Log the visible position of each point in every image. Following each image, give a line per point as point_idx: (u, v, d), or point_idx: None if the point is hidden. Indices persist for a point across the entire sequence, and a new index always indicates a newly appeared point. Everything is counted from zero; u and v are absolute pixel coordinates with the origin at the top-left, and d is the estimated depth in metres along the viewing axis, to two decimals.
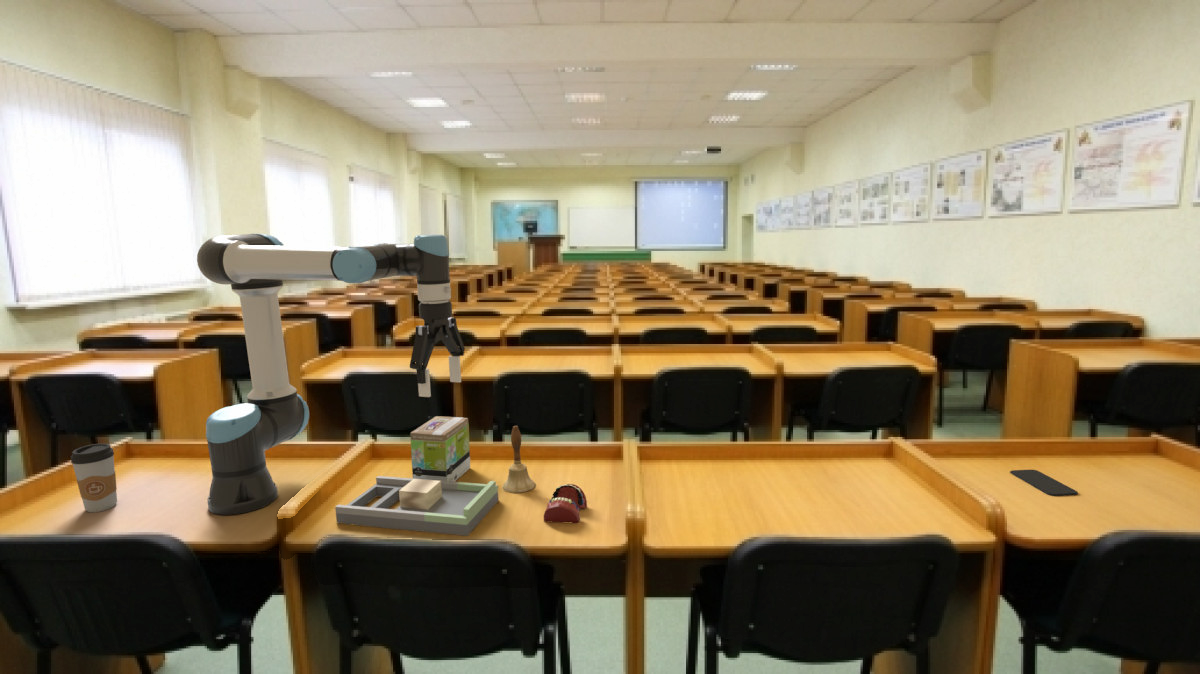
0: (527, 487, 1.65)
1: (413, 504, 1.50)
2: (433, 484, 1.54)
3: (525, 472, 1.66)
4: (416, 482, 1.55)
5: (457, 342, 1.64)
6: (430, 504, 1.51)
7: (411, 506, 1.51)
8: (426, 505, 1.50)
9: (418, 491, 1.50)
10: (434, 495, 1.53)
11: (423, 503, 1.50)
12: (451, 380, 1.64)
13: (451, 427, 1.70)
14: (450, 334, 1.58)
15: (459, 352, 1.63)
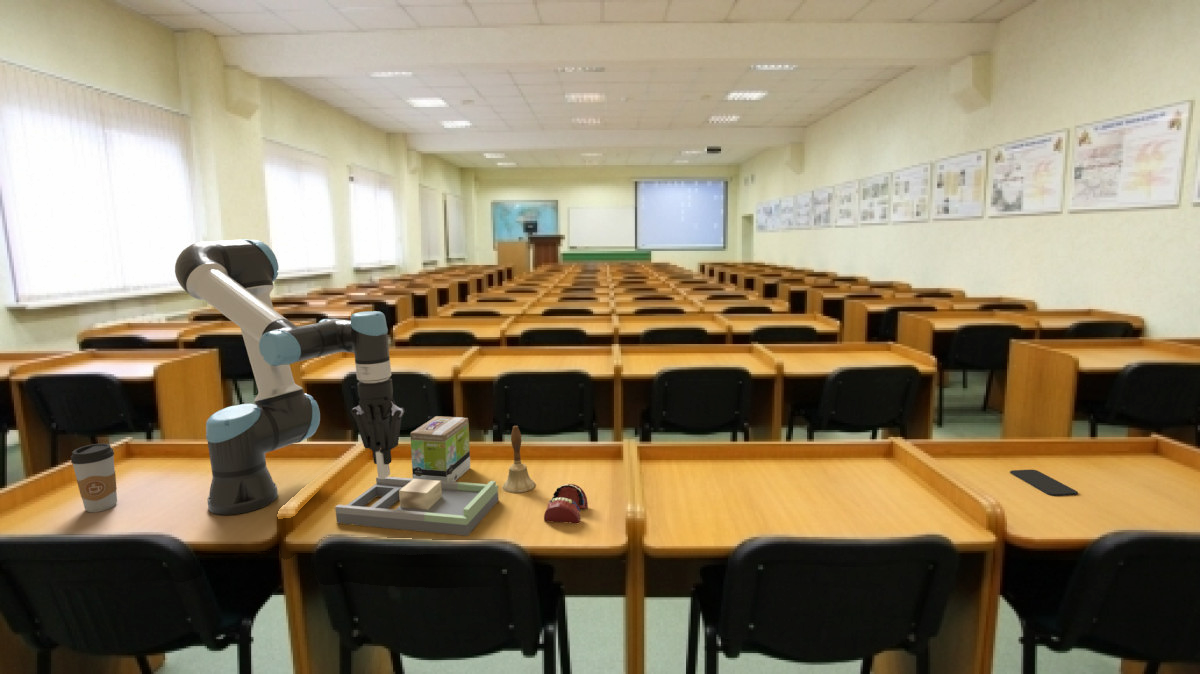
0: (527, 487, 1.65)
1: (413, 504, 1.50)
2: (433, 484, 1.54)
3: (525, 472, 1.66)
4: (416, 482, 1.55)
5: None
6: (430, 504, 1.51)
7: (411, 506, 1.51)
8: (426, 505, 1.50)
9: (418, 491, 1.50)
10: (434, 495, 1.53)
11: (423, 503, 1.50)
12: None
13: (451, 427, 1.70)
14: (379, 419, 1.50)
15: (383, 447, 1.52)
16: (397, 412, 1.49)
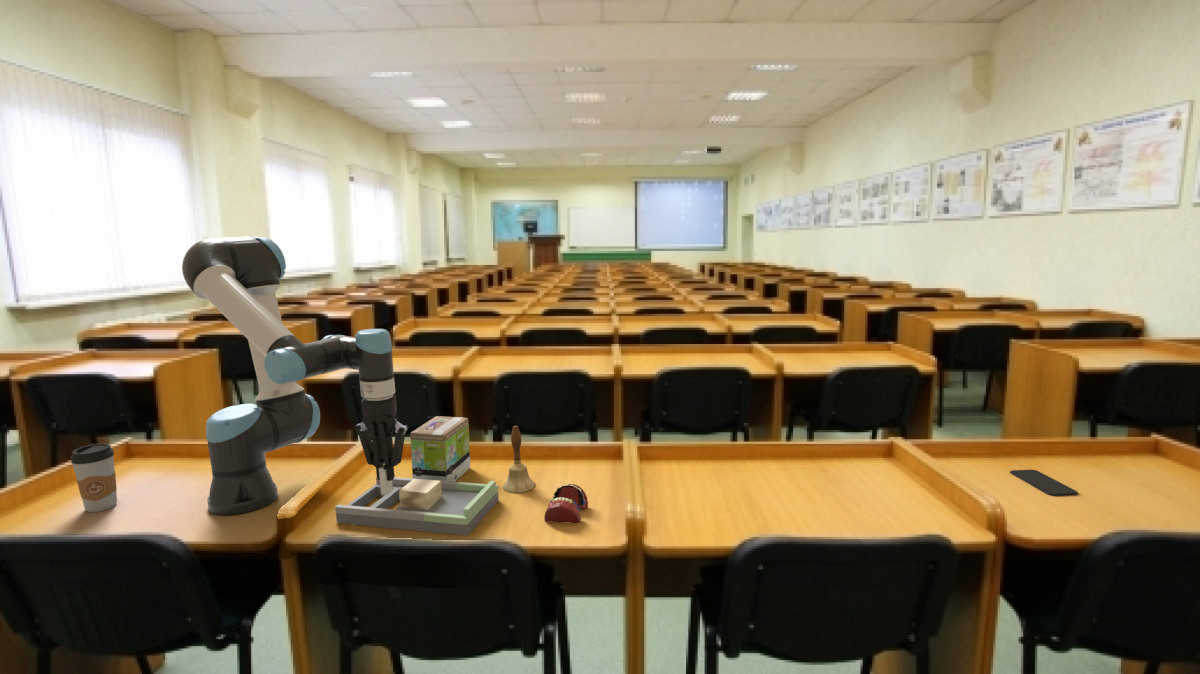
0: (527, 487, 1.65)
1: (413, 504, 1.50)
2: (433, 484, 1.54)
3: (525, 472, 1.66)
4: (416, 482, 1.55)
5: None
6: (430, 504, 1.51)
7: (411, 506, 1.51)
8: (426, 505, 1.50)
9: (418, 491, 1.50)
10: (434, 495, 1.53)
11: (423, 503, 1.50)
12: None
13: (451, 427, 1.70)
14: (382, 436, 1.51)
15: (386, 464, 1.53)
16: (401, 430, 1.50)
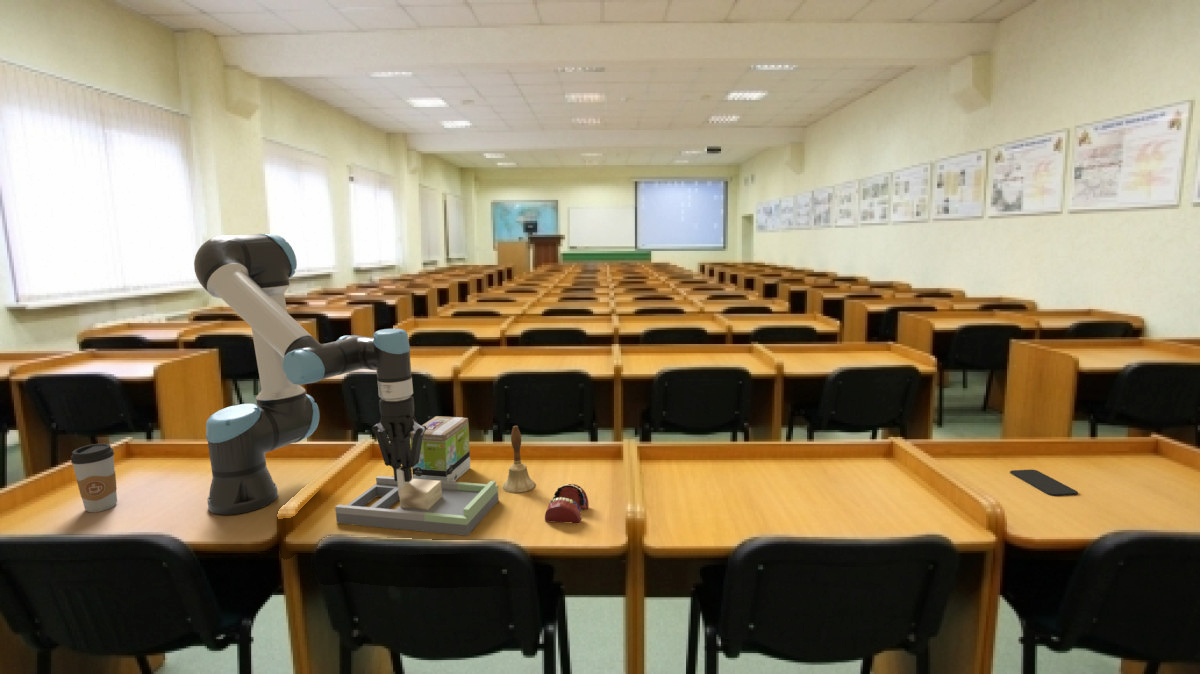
0: (527, 487, 1.65)
1: (413, 504, 1.50)
2: (433, 484, 1.54)
3: (525, 472, 1.66)
4: (416, 482, 1.55)
5: None
6: (430, 504, 1.51)
7: (411, 506, 1.51)
8: (426, 505, 1.50)
9: (418, 491, 1.50)
10: (434, 495, 1.53)
11: (423, 503, 1.50)
12: None
13: (451, 427, 1.70)
14: (400, 436, 1.50)
15: (403, 465, 1.52)
16: (419, 430, 1.49)
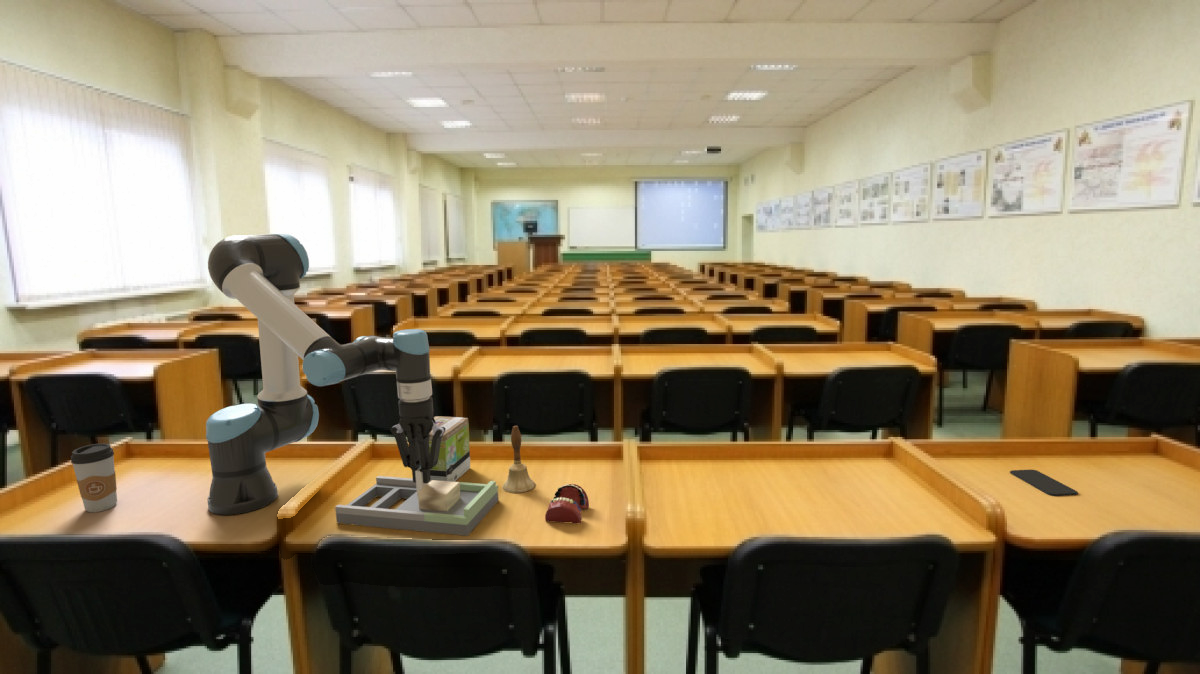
0: (527, 487, 1.65)
1: (432, 506, 1.49)
2: (451, 485, 1.53)
3: (525, 472, 1.66)
4: (435, 483, 1.54)
5: None
6: (449, 506, 1.50)
7: (430, 508, 1.50)
8: (445, 507, 1.49)
9: (437, 493, 1.49)
10: (453, 496, 1.52)
11: (442, 505, 1.49)
12: None
13: (451, 427, 1.70)
14: (419, 438, 1.49)
15: (422, 467, 1.51)
16: (438, 431, 1.48)
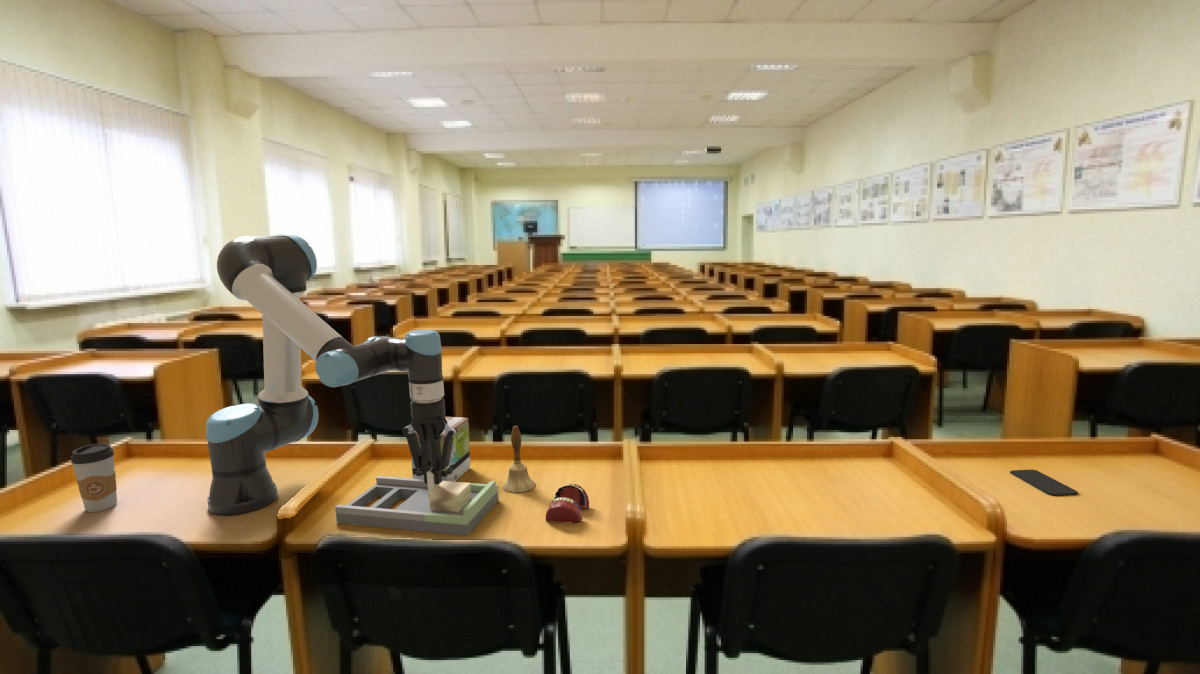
0: (527, 487, 1.65)
1: (443, 507, 1.49)
2: (463, 486, 1.52)
3: (525, 472, 1.66)
4: (446, 484, 1.54)
5: None
6: (460, 507, 1.49)
7: (441, 509, 1.49)
8: (457, 508, 1.48)
9: (449, 494, 1.48)
10: (464, 497, 1.51)
11: (453, 506, 1.48)
12: None
13: (451, 427, 1.70)
14: (431, 439, 1.48)
15: (434, 468, 1.50)
16: (450, 433, 1.47)
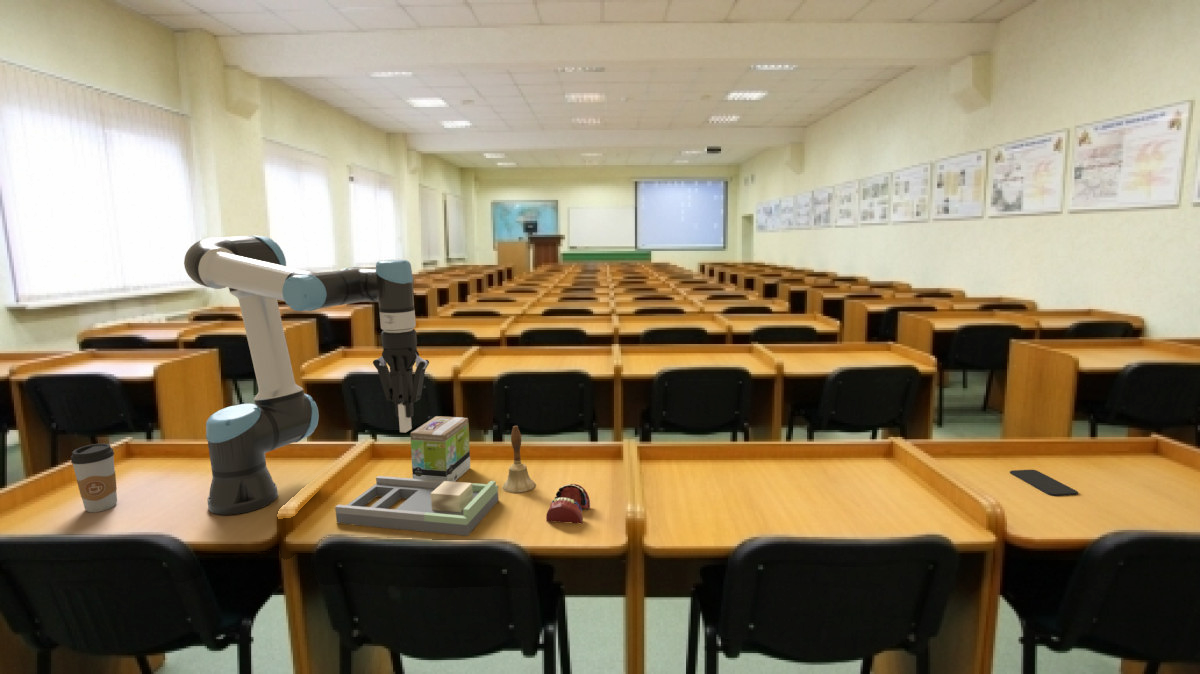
0: (527, 487, 1.65)
1: (445, 507, 1.49)
2: (464, 486, 1.52)
3: (525, 472, 1.66)
4: (447, 484, 1.54)
5: None
6: (462, 507, 1.49)
7: (443, 509, 1.49)
8: (458, 508, 1.48)
9: (450, 494, 1.48)
10: (466, 497, 1.51)
11: (455, 506, 1.48)
12: None
13: (451, 427, 1.70)
14: (402, 370, 1.47)
15: (405, 400, 1.48)
16: (421, 363, 1.46)
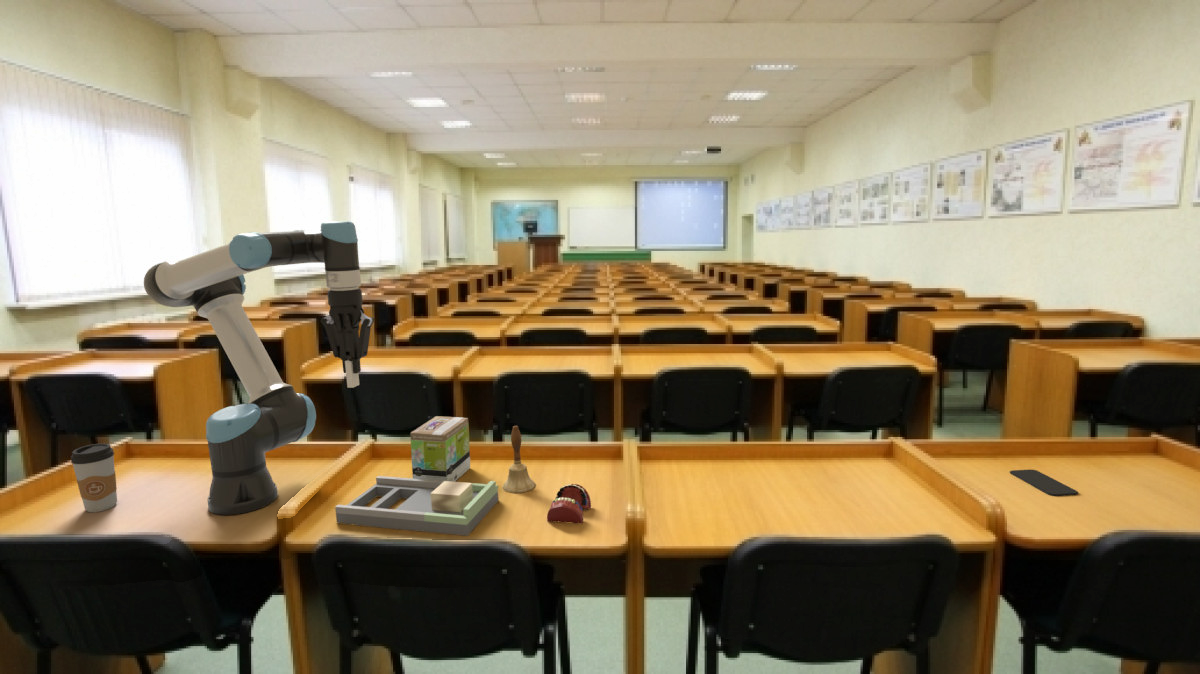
0: (527, 487, 1.65)
1: (445, 507, 1.49)
2: (464, 486, 1.52)
3: (525, 472, 1.66)
4: (447, 484, 1.54)
5: None
6: (462, 507, 1.49)
7: (443, 509, 1.49)
8: (458, 508, 1.48)
9: (450, 494, 1.48)
10: (466, 497, 1.51)
11: (455, 506, 1.48)
12: None
13: (451, 427, 1.70)
14: (348, 327, 1.53)
15: (352, 356, 1.55)
16: (366, 320, 1.53)
